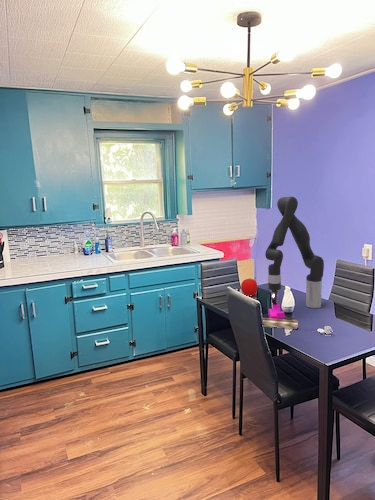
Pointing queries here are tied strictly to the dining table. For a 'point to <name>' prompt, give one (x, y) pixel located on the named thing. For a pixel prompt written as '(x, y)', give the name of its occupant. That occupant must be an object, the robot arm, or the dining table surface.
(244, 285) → the tomato
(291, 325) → the plank
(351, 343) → the dining table surface
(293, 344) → the dining table surface
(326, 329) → the teacup and saucer
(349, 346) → the dining table surface
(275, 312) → the toy block
